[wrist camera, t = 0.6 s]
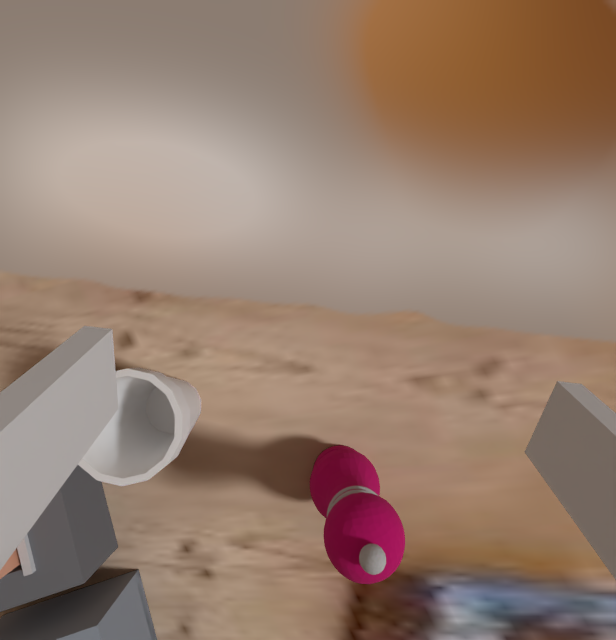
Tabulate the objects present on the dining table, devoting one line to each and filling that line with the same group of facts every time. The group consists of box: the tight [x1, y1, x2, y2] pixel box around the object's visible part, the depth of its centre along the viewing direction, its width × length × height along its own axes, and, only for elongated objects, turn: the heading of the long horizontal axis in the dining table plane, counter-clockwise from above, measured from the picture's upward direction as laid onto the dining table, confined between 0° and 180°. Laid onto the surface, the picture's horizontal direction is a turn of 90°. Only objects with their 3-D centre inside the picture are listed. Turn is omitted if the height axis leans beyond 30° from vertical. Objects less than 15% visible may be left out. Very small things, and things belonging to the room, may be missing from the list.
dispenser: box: [0, 465, 118, 612], centre depth 40 cm, size 14×12×8 cm
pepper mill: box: [310, 445, 405, 584], centre depth 35 cm, size 7×7×20 cm
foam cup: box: [78, 368, 201, 486], centre depth 38 cm, size 10×9×13 cm
